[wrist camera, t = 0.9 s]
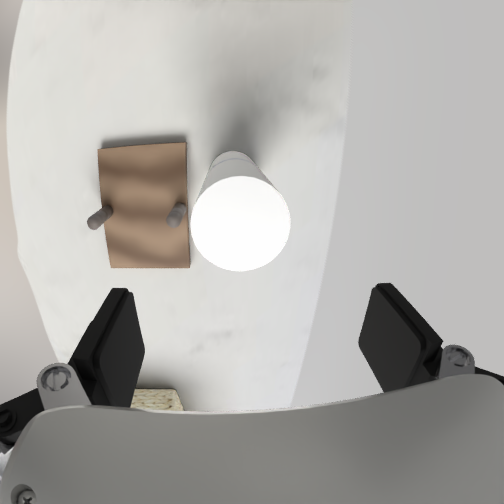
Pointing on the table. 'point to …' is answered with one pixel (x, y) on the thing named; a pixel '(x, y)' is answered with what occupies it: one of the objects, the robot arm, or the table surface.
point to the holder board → (144, 205)
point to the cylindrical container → (239, 215)
